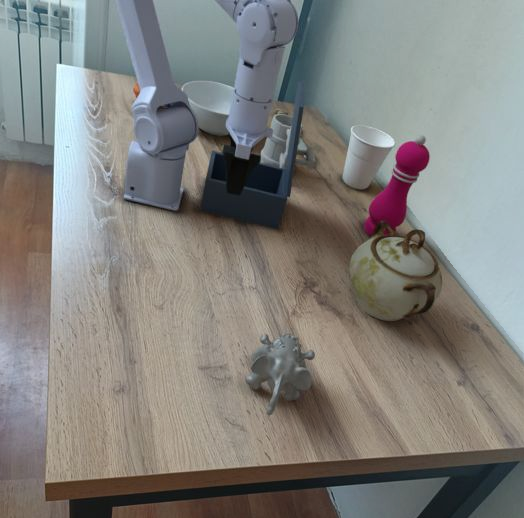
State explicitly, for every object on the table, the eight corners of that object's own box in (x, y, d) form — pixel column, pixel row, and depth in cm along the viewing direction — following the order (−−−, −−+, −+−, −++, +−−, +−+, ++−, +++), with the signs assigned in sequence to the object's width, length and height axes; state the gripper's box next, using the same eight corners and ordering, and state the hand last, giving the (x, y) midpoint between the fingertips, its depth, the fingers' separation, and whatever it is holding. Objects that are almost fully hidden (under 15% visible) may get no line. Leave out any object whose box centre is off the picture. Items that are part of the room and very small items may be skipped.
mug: (289, 159, 121) (305, 106, 113) (298, 186, 113) (316, 131, 105) (256, 153, 119) (270, 98, 111) (263, 180, 111) (278, 123, 103)
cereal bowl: (164, 126, 117) (168, 93, 112) (193, 104, 129) (198, 73, 125) (237, 153, 116) (244, 121, 112) (259, 129, 129) (266, 99, 124)
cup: (327, 180, 118) (344, 132, 111) (342, 167, 125) (360, 120, 118) (367, 200, 116) (387, 152, 109) (381, 185, 123) (401, 139, 116)
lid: (299, 106, 84) (327, 110, 84) (297, 81, 92) (323, 84, 92) (286, 196, 94) (311, 199, 94) (285, 166, 103) (309, 169, 103)
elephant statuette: (299, 362, 75) (316, 323, 70) (317, 433, 67) (337, 394, 62) (235, 358, 73) (248, 316, 68) (245, 431, 65) (260, 390, 59)
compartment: (199, 211, 97) (205, 179, 92) (206, 180, 105) (211, 150, 101) (278, 229, 99) (287, 199, 95) (278, 198, 107) (287, 169, 103)
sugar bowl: (444, 346, 86) (494, 272, 76) (363, 348, 81) (405, 269, 71) (393, 269, 99) (430, 197, 89) (320, 266, 94) (350, 189, 83)
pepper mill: (394, 246, 105) (443, 149, 91) (359, 234, 105) (403, 136, 91) (395, 228, 110) (441, 134, 97) (362, 217, 110) (403, 121, 96)
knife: (325, 166, 121) (305, 161, 119) (321, 172, 122) (302, 167, 120) (292, 111, 138) (275, 106, 136) (290, 117, 139) (273, 112, 137)
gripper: (280, 120, 72) (257, 210, 81) (280, 84, 82) (260, 167, 91) (228, 107, 71) (211, 199, 80) (235, 72, 81) (219, 157, 90)
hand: (234, 181), depth 86 cm, fingers open, 7 cm apart
